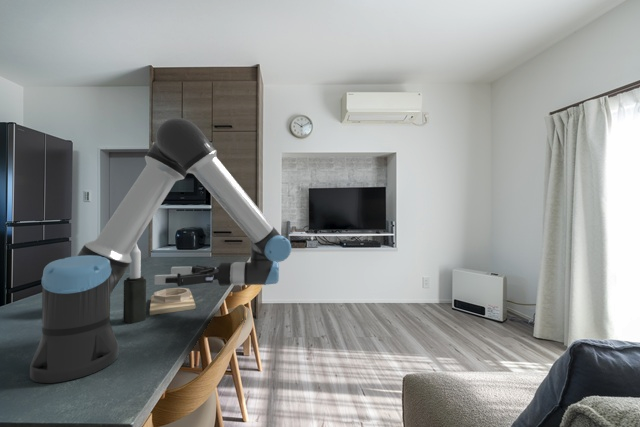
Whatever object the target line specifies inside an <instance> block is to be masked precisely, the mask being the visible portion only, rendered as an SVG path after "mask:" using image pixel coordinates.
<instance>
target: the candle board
mask: <svg viewBox="0 0 640 427" xmlns="http://www.w3.org/2000/svg"><path fill="white" fill-rule="evenodd" d="M195 302H196V301H195V300H194V297H193V294H192V291H191V290H190V288H185V287H172V288H164V289H161V290H157V291H154V292H153V295H151V296H150V305H149V306H150V307H149V316H155V315H160V314H167V313H175V312H182V311H183V312H184V311H190V310H196V303H195Z"/></svg>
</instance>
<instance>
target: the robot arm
mask: <svg viewBox="0 0 640 427" xmlns="http://www.w3.org/2000/svg"><path fill="white" fill-rule="evenodd" d="M217 152H218V151H217V149H216V148H215V147H214V146H213V144H212V143H211V142H210V140H209V139H208V138H207V137H206V135H205V134H204V133H203V131H202V130H201V129H200V128H199V127H198V126H197V125H196V124H195V123H193V122H192V121H191V120H188V119H186V118H180V117H172V118H168V119H166V120H164V121H163V122H162V123H161V124H160V125H158V128H157V129H156V133H155V141H154V142H153V144H152V145H151V147H150V148H149V149H148V151H147V153H146V154H145V156H144V160H145V163H146V165H145V166H144V168H143V170H142V171H141V173H140V174H139V175H138V177H137V178H136V180H135V181H134V183H133V184H132V186H131V188H130V189H129V190H128V192H127V193H126V195H125V196H124V197H123V199H122V200H121V202H120V203H119V205H118V207H117V208H116V209H115V211H114V213H113V214H112V216H111V217H110V219H109V220H108V221H107V223H106V224H105V226H104V227H103V228H102V230H101V231H100V233H99V234H98V236H97V238H96V239H95V240H92V241H88V242H86V243H84V245H83V246H82V248H81V249H80V250H79V252H78V253H77V255H75V256H69V257H64V258H60V259H57V260H53V261H50V262H49V263H47V265H45V267H44V268H43V272H42V277H41V286H42V288H41V289H42V290H41V291H42V292H41V293H42V294H41V296H42V300H41V302H42V305H41V310H42V313H41V324H42V325H41V327H42V328H41V338H40V341H39V343H38V345H37V348H36V350H35V353H34V354H33V355H34V356H33V358H32V360H31V363H30V366H29V379H30V380H31V381H33V382H35V383H41V384H51V383H52V384H55V383H61V382H66V381H67V382H68V381H72V380H76V379H77V380H78V379H79V378H83V377H87V376H89V375H91V374H96V373H98V372H99V371H102V370H103V369H106V368H107V367H109V366H110V365H112V364H113V363H114V362H115V361H116V360H117V358H118V357H119V350H120V349H119V348H120V346H119V343H118V340H117V338H116V336H115V333H114V330H113V328H112V326H111V294H112V292H113V291H114V290H115V289H116V288H117V287H118V285H119V284H120V281H121V279H122V277H123V275H124V274H125V273H126V271H127V269H128V268H129V267H130V263H131V258H130V252H131V250H132V249H133V247H134V246H135V244H136V243H138V241H139V239H140V238H141V237H142V235H143V233H144V231H145V230H146V229H147V227H148V225H149V224H150V223H151V221H152V219H153V217H155V214H156V213H157V211H158V210H159V208H160V207H161V205H162V203H163V202H164V201H165V199H166V198H167V196H168V194H169V193H170V191H171V189H172V188H173V186H174V185H175V183H176V182H178V181H180V180H184V179H185V178H186V176H188V175H187V174H192V175H194V177H195V178H196V179H197V180H198V181H199V182H200V183H201V184H202V186H203V187H204V188H205V189H206V190H207V191H208V193H210V195H211V196H212V197H213V198H214V199H215V201H216V202H217V203H218V204H219V206H220V207H222V209H223V210H224V211H225V212H226V213H227V215H229V217H230V218H231V219H232V220H233V221H234V222H235V223H236V225H238V227H239V228H240V229H241V231H242V232H243V233H244V234H245V235H246V236H247V237H248V239H250V261H248V262H247V261H237V262H235V261H234V262H233V263H232V262H227V261H226V262H221V263H220V264H219V266H211V265H198V264H197V265H193V266H172V267H170V274H156V275H154V285H155V286H156V285H158V286H159V285H160V286H161V285H162V286H163V285H164V286H165V285H177V287H184V286H191V285H199V284H200V285H202V284H212V283H214V281H216V280H217V282H218V285H219V286H221V287H223V286H224V287H225V286H231V285H233V286H239V287H240V288H242V287H243V286H262V285H263V286H267V285H268V286H269V285H276V284H278V283H279V281H280V263H282V262H284V261H285V260H287V259H288V258H289V257H290V255H291V252H292V244H291V241H290V240H289V239H288V238H286V236H283V235H281V234H280V232H278V230H277V229H276V228H275V227H274V225H273V224H272V223H271V221H269V219H268V218H267V217H266V216H265V215H264V213H263V212H262V210H261V209H260V208H259V207H258V206H257V205H256V203H255V202H254V201H253V200H252V198H251V197H250V196H249V194H248V193H247V192H246V191H245V190H244V188H243V187H242V186H241V185H240V184H239V183H238V180H236V179H235V177H233V175H232V174H231V173H230V172H229V170H228V169H227V168H226V167H225V165H224V164H223V163H222V161H220V159H219V158H218V156H217Z"/></svg>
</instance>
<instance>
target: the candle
mask: <svg viewBox="0 0 640 427" xmlns="http://www.w3.org/2000/svg"><path fill="white" fill-rule="evenodd" d="M137 243H138V242H137ZM137 243H136V244H135V246H134V247H133V249H132V250H131V252H130V258H131V263H130V265H129V277H126V279H123V307H122V308H123V314H122V315H123V321H122V322H124V323H127V324H129V325H132V324H135V323H140V322H143V321H146V319H147V278H145V277H144V276H142V275H141V274H142V273H141V272H142V271H141V268H142V266H141V265H142V263H141V262H142V260H141V258H142V257H141V256H142V253H141V252H142V251H141V250H140V248H139V247H138V246H139V245H138V244H137Z"/></svg>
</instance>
